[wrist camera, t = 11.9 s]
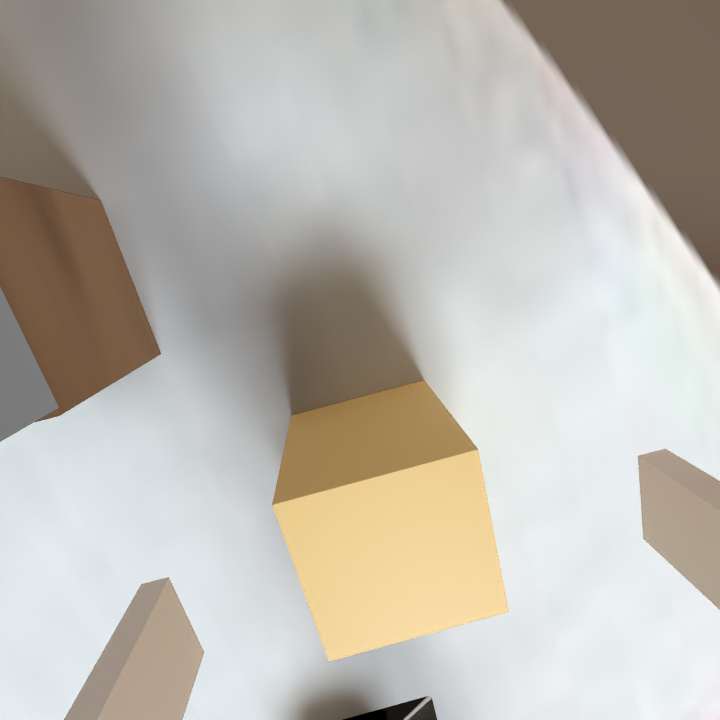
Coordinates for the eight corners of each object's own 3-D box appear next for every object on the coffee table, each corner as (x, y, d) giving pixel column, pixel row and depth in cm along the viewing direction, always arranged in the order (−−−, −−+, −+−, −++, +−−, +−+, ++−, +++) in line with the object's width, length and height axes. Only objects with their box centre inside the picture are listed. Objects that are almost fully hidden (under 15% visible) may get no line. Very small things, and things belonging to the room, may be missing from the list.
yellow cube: (327, 527, 18) (328, 661, 12) (291, 414, 16) (272, 505, 10) (448, 494, 18) (508, 612, 12) (423, 379, 16) (478, 449, 10)
